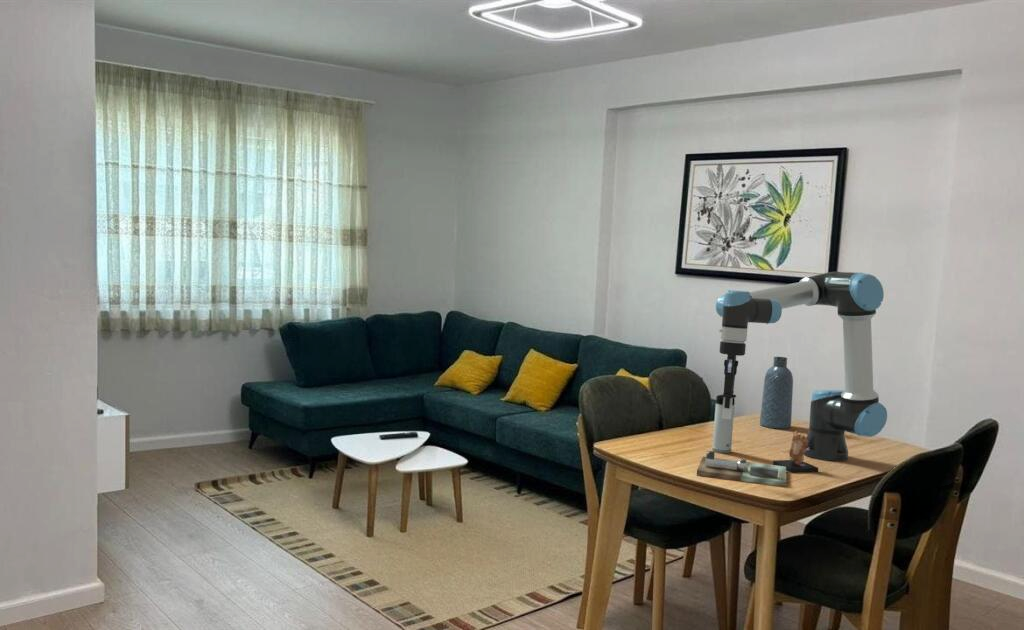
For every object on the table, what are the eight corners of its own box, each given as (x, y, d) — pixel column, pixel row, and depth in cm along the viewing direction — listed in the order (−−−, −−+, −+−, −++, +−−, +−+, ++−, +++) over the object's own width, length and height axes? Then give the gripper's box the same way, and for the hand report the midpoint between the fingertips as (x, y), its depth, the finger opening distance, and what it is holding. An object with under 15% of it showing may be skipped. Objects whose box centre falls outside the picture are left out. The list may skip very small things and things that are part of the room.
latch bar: (748, 469, 262) (749, 455, 262) (747, 471, 258) (748, 457, 258) (706, 463, 266) (707, 450, 265) (705, 466, 262) (706, 452, 262)
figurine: (818, 472, 271) (821, 435, 270) (791, 473, 268) (794, 435, 267) (799, 464, 280) (801, 428, 279) (772, 464, 277) (775, 428, 276)
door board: (785, 471, 269) (786, 458, 269) (785, 486, 250) (786, 473, 250) (702, 460, 277) (703, 448, 277) (696, 475, 258) (697, 462, 258)
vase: (761, 427, 339) (767, 358, 336) (757, 422, 351) (763, 354, 348) (793, 430, 337) (798, 360, 335) (788, 424, 349) (793, 356, 346)
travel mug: (732, 454, 289) (736, 396, 287) (712, 452, 290) (716, 394, 289) (731, 450, 295) (735, 393, 294) (712, 448, 296) (716, 392, 295)
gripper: (722, 338, 263) (715, 413, 264) (718, 341, 251) (711, 420, 252) (747, 341, 261) (740, 416, 262) (744, 344, 248) (737, 423, 250)
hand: (726, 418), depth 257 cm, fingers closed
